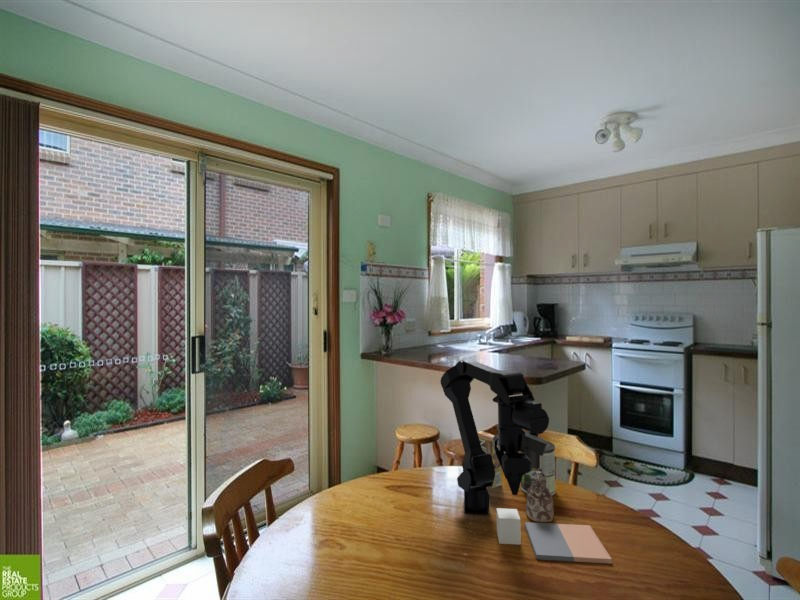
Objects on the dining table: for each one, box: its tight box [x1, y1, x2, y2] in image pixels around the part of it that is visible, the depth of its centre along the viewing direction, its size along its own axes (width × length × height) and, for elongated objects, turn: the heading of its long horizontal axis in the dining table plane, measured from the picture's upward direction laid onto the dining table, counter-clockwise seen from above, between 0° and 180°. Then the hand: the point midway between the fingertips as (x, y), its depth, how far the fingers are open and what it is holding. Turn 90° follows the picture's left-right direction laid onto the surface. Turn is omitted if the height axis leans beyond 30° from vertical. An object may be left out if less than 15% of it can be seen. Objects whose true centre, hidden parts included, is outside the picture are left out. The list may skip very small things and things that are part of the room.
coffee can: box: [520, 439, 556, 497], centre depth 126 cm, size 10×10×14 cm
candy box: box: [477, 430, 503, 489], centre depth 132 cm, size 9×4×15 cm, turn 33°
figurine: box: [525, 468, 555, 523], centre depth 110 cm, size 7×7×12 cm
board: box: [524, 521, 613, 565], centre depth 97 cm, size 16×14×1 cm
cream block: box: [496, 507, 522, 546], centre depth 100 cm, size 5×5×6 cm
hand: (511, 486), depth 101 cm, fingers open, 9 cm apart
